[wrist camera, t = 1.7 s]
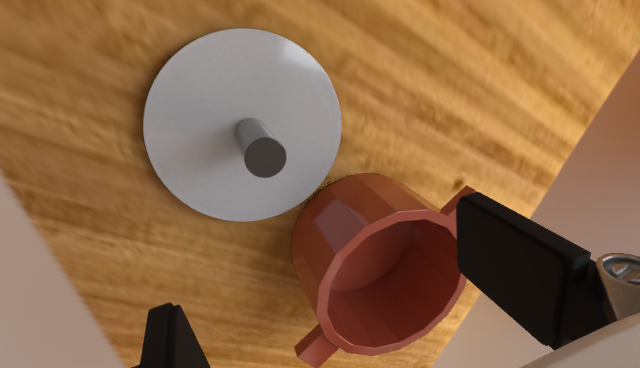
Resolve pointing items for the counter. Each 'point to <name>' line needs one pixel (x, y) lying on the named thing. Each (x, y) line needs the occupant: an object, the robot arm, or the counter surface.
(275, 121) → the pan lid
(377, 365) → the counter surface
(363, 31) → the counter surface
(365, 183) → the saucepan
